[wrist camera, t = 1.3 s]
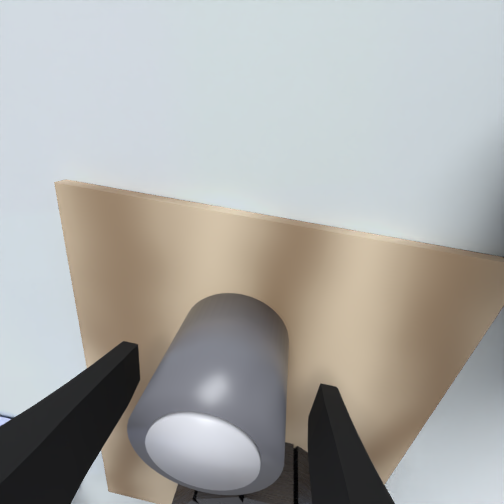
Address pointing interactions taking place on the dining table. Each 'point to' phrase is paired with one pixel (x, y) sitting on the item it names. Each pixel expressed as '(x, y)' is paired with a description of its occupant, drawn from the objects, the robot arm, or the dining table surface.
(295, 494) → the segmented dark ring
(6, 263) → the dining table surface
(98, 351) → the tan wooden board
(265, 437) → the grey domed cylinder
